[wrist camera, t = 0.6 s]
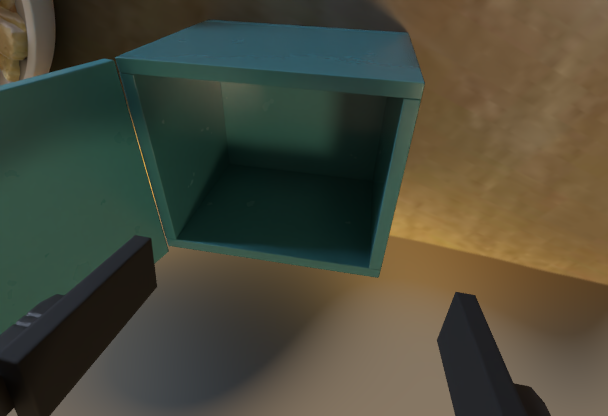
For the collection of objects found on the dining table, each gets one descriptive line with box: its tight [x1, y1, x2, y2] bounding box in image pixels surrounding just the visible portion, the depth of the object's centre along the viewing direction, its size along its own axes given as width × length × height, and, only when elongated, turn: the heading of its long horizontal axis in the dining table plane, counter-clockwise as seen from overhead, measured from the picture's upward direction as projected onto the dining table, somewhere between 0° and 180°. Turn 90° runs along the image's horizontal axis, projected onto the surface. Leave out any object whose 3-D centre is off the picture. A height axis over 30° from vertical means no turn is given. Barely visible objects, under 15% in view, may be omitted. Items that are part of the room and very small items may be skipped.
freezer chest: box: [115, 20, 425, 278], centre depth 28 cm, size 17×15×14 cm
